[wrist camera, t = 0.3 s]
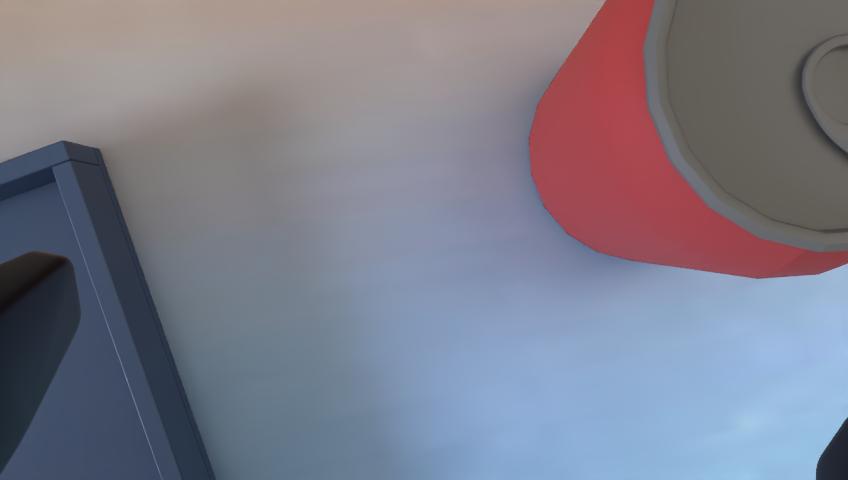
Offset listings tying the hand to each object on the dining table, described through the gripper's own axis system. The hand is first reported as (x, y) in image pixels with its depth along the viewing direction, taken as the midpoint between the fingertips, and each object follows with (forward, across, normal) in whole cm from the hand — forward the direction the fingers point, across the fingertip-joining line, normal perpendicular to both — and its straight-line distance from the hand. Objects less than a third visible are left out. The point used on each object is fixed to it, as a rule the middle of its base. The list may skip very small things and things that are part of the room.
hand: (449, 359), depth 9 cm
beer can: (+15, -5, +4) cm, 16 cm away
